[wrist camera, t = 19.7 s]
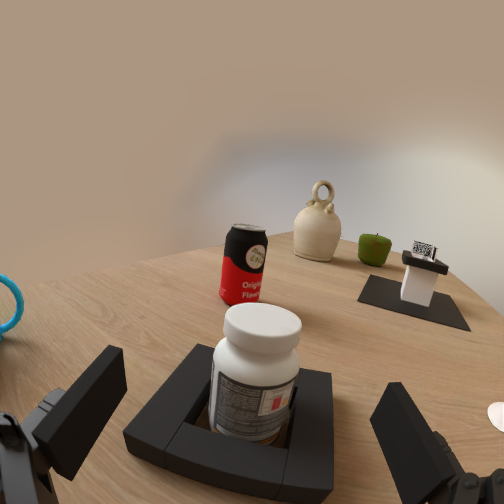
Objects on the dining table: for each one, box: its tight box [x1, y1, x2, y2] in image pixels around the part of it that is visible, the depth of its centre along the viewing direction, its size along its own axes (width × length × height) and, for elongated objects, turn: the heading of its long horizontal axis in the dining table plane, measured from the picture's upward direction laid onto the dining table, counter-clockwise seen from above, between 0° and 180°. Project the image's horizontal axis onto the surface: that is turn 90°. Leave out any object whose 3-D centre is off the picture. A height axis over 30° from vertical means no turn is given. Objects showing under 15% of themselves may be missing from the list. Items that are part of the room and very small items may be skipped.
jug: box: [294, 181, 341, 262], centre depth 86 cm, size 15×16×25 cm
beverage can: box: [219, 224, 268, 306], centre depth 42 cm, size 6×6×12 cm
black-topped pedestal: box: [357, 240, 471, 331], centre depth 56 cm, size 28×26×13 cm
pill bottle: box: [208, 303, 302, 445], centre depth 17 cm, size 6×6×10 cm
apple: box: [358, 233, 392, 266], centre depth 91 cm, size 12×12×11 cm
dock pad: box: [123, 344, 334, 504], centre depth 18 cm, size 13×13×2 cm
